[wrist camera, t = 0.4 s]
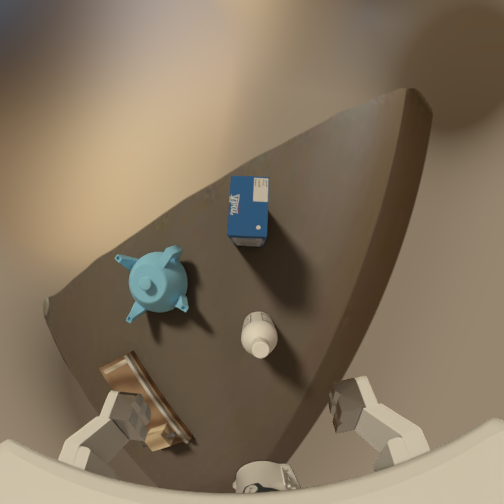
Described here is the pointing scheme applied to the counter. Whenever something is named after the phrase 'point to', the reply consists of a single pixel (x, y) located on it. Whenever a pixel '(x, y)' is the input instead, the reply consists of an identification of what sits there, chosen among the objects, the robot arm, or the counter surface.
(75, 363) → the counter surface
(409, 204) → the counter surface
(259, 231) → the milk carton
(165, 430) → the wooden block with pegs
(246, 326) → the bath foam
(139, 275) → the teapot
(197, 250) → the counter surface
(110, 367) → the walnut board
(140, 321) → the counter surface
